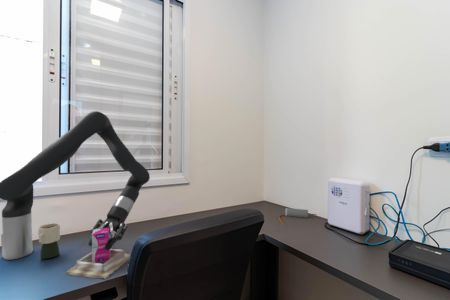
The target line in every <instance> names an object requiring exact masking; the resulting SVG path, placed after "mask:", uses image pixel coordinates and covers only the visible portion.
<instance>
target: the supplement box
mask: <svg viewBox="0 0 450 300" xmlns="http://www.w3.org/2000/svg"><path fill="white" fill-rule="evenodd" d="M91 238H92V247H91V252H92V263H102V262H107V261H108V260H109V259H110V250H106V249H105V246H106V244H107V242H108V241H109V239H110V233H109V228H101V229H97V228H96V229H94V230H93V233H91Z"/></svg>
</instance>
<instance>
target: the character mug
mask: <svg viewBox="0 0 450 300" xmlns="http://www.w3.org/2000/svg"><path fill="white" fill-rule="evenodd" d="M60 226H61V225H60V223H58V222H51V223H46V224H43V225H40V226H38V232H37V233H38V242H39V244H42V245H41V250H40V259H50V258H55V257H57V256H58V255H60V248H59V247H60V246H59V244H58V243H59V242H58V241H59V240H60V239H61V229H60V228H61V227H60Z"/></svg>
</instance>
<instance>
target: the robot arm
mask: <svg viewBox="0 0 450 300" xmlns="http://www.w3.org/2000/svg"><path fill="white" fill-rule="evenodd" d="M94 135H98V136H99V137H100V138H101V139H102V140H103V141H104V143H105V144H106V146H107V147H108V148H109V151H110V153H111V154H112V156H113V158H114V159H115V161H116V162H117V163H118V165H119V166H120V167H121V169H122V170H123V171H126V172H127V171H128V173H130V174H131V175H130V177H129V178H128V179H127V182H126V183H125V184H126V185H125V187H124V188H123V190H122V191H121V193H120V195H118V197H117V199H116V200H115V201H114V203H113V205H112V206H111V207H110V209H109V210H108V213H106V219H105V220H102V218H99V219H98V220H97V222H96V223H95V225H94V226H93V227H92V229H91V231H90V233H91V234H92V233H93V230H94V229H101V228H109V233H110V234H111V239H109V241H108V242H107V244H106V246H105V249H106V250H110V249H113V246H114V243H115V242H116V241H118V240H119V241H121V240H122V239H123V237H124V235H125V232H126V231H127V229H128V227H129V226H128V225H127V223H125V222H126V221H127V218H128V217H129V215H130V213H131V211H132V209H133V207H134V204H135V203H136V201H137V199H138V197H139V196H140V190H141V188H142V187H143V185H145V184H147V183H148V182H149V181H150V178H151V177H150V173H149V171H148V169H147V168H145V167H144V166H143V165H142V164H141V163H140V162H139V161H137V159H136V158H135V157H134V155H133V154H132V152H130V150H129V149H128V147H127V146H126V145H125V144H124V142H122V140H121V138H120V137H119V136H118V133H117V132H116V131H115V128H114V127H113V125H112V123H111V120H110V119H109V117H108V116H107V115H106V114H104V113H103V112H100V111H95V110H94V111H90V112H88V113H87V114H85V115H84V116H82V118H81V119H80V120H79V121H78V122H76V124H75V125H74V126H73V127H71V128H70V129H69V130H68V131H66V132H65V133H64V134H63V135H61V136H60V137H59V138H57V139H56V140H55V141H53V142H52V143H50V144H49V145H48V146H47V147H45V148H44V149H43V150H42V151H41V152H40V153H38V154H37V155H36V156H34V157H33V158H32V159H31V160H30V161H29V162H27V163H26V164H25V165H24V166H23V167H21V168H20V169H18V170H17V171H15V172H14V173H12V174H11V175H9V176H7V177H6V178H4V179H3V180H1V181H0V200H4V201H7V202H6V204H5V206H4V207H3V209H2V210H1V221H2V222H1V224H2V227H1V228H2V229H1V230H2V234H0V240H1V241H0V242H1V257H2V258H3V260H7V261H8V260H16V259H20V258H24V257H26V256H28V255H30V254H32V253H33V227H32V226H33V222H32V208H33V205H34V183H36V182H37V181H38V180H39V179H41V178H43V177H45V176H47V175H49V174H50V173H51V172H54V170H56V169H58V168H60V167H61V166H63V165H64V164H65V163H66V162H67V161H69V160H70V159H72V157H73V156H74V155H75V154H76V153H77V152H78V151H79V148H80V147H81V146H82V144H83V143H84V142H85V141H87V140H88V139H89V138H91V137H92V136H94ZM88 246H89V247H91V248H92V237H91V238H90V239H89V241H88Z"/></svg>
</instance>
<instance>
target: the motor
mask: <svg viewBox="0 0 450 300" xmlns="http://www.w3.org/2000/svg"><path fill="white" fill-rule="evenodd" d="M282 216H284V217H285V216H286V217H293V218H294V217H295V218H304V219H305V218H306V219H309V216H317V214H316V213H309V210H308V209H304V208H303V209H302V208H290V207H289V208H288V207H285V214H279V216H278V219H279V220H278V221H280V223H281V225H283V226H285V223H284V221H282V219H281V217H282Z"/></svg>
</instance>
